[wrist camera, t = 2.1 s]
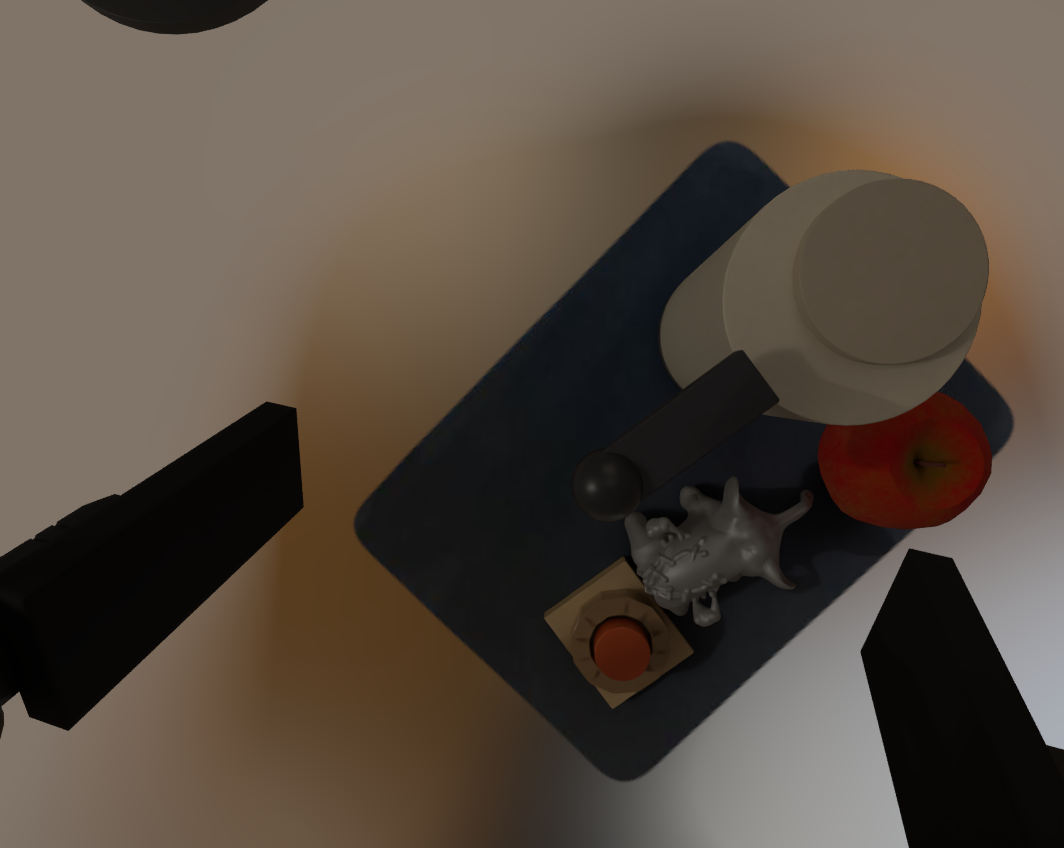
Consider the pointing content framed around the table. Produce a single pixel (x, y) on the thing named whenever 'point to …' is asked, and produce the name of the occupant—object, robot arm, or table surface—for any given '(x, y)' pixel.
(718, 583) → the grey toy figure
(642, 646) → the button
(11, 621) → the robot arm
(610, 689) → the button base
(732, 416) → the switch
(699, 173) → the table surface
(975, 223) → the beige cylinder
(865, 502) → the apple
